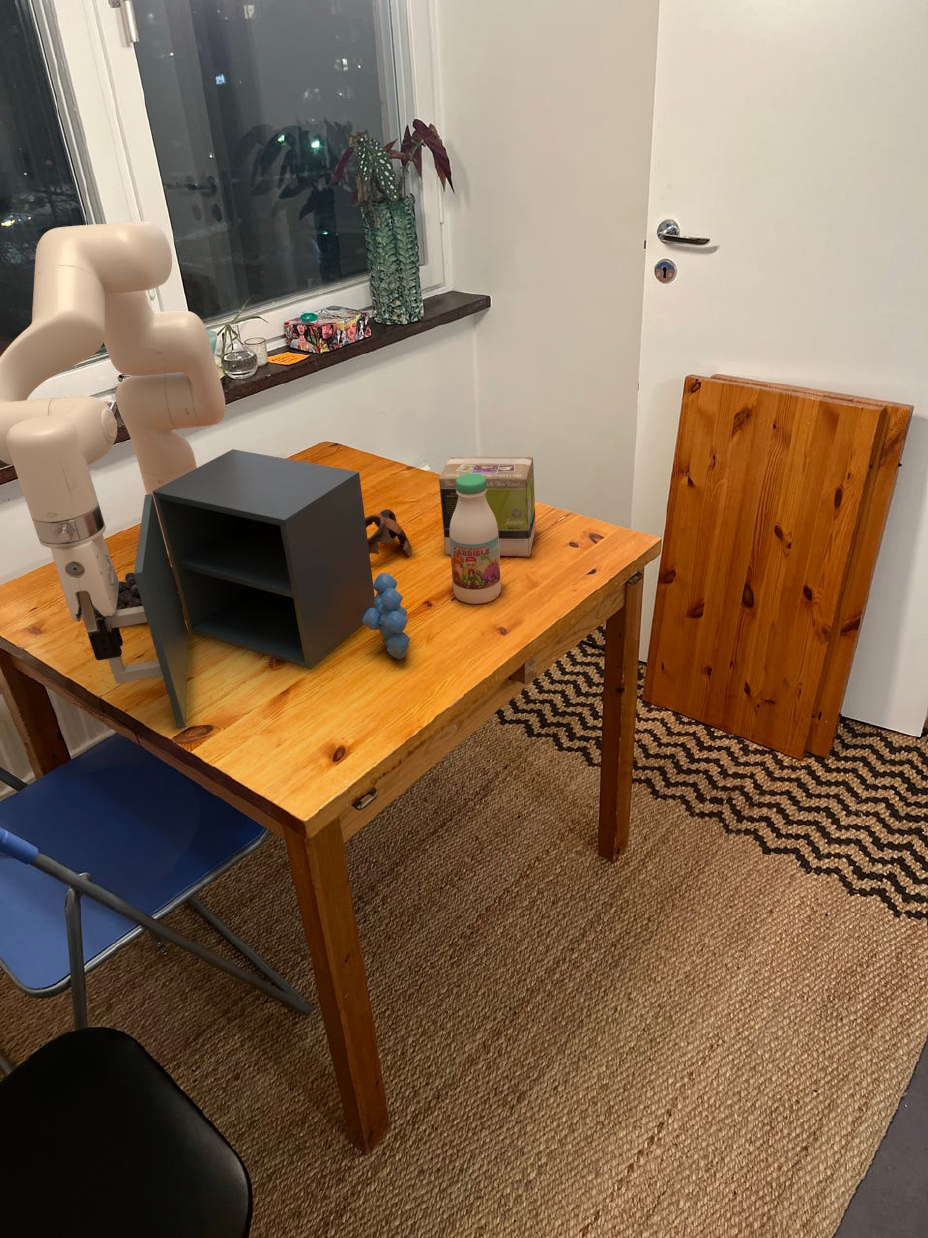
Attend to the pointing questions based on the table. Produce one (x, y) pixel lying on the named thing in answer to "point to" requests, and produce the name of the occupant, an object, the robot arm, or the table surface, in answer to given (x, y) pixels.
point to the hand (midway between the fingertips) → (109, 651)
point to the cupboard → (269, 554)
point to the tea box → (496, 498)
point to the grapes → (388, 616)
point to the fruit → (131, 593)
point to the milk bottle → (474, 543)
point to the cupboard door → (156, 616)
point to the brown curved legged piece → (386, 531)
